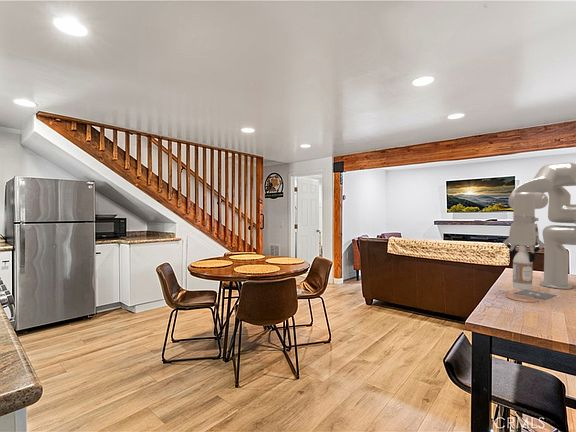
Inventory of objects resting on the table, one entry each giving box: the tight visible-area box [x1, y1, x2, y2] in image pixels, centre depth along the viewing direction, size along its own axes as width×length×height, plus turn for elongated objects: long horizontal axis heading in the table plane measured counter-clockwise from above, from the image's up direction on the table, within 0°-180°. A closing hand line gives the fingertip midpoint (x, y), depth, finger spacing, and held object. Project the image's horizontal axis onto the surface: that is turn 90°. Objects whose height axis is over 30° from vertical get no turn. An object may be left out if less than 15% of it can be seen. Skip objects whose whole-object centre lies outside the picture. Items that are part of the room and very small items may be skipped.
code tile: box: [514, 289, 557, 300], centre depth 145 cm, size 12×12×1 cm
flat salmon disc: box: [506, 293, 539, 303], centre depth 138 cm, size 11×11×1 cm
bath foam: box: [512, 245, 534, 290], centre depth 138 cm, size 7×7×20 cm
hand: (522, 260), depth 138 cm, fingers closed on bath foam, 6 cm apart
